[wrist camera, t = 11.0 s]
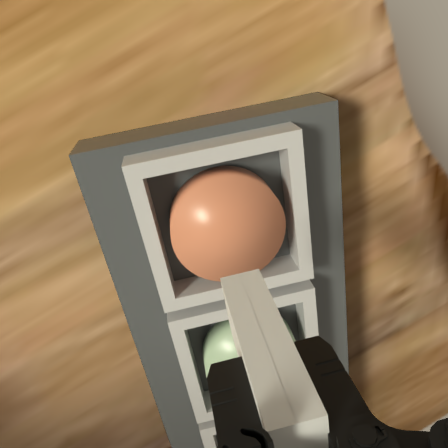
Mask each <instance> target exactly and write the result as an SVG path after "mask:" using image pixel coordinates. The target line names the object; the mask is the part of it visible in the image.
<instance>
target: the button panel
mask: <svg viewBox="0 0 448 448" xmlns="http://www.w3.org/2000/svg"><path fill="white" fill-rule="evenodd" d="M69 157H70V160H71V163H72V166H73V169H74V172H75V175H76V177H77V180H78V183H79V186H80V189H81V192H82V194H83V197H84V200H85V203H86V206H87V209H88V211H89V214H90V217H91V220H92V223H93V226H94V228H95V231H96V234H97V237H98V240H99V243H100V245H101V248H102V251H103V254H104V257H105V260H106V262H107V265H108V268H109V271H110V274H111V277H112V280H113V282H114V285H115V288H116V291H117V294H118V297H119V299H120V302H121V305H122V308H123V311H124V314H125V316H126V319H127V322H128V325H129V328H130V331H131V333H132V336H133V339H134V342H135V345H136V348H137V350H138V353H139V356H140V359H141V362H142V365H143V367H144V370H145V373H146V376H147V379H148V382H149V385H150V387H151V390H152V393H153V396H154V399H155V402H156V404H157V407H158V410H159V413H160V416H161V419H162V421H163V424H164V427H165V430H166V433H167V436H168V438H169V441H170V444H171V447H172V448H217V445H218V440H217V434H216V429H215V423H214V417H213V411H212V405H211V400H210V394H209V388H208V383H207V378H206V372H205V365H204V359H203V352H202V351H203V342H204V339H205V337H206V335H207V333H208V331H209V330H210V329H211V328H212V326H213V325H214V324H215V323H217V322H221V321H225V320H229V319H228V314H227V309H226V304H225V299H224V294H223V290H222V285H221V282H219V281H212V280H207V279H204V278H201V277H199V276H197V275H195V274H194V273H192V272H190V271H189V270H188V269H187V268H185V267H184V265H183V264H182V263H181V262H180V261H179V259H178V258H177V256H176V254H175V252H174V250H173V247H172V243H171V236H170V223H169V215H170V208H171V205H172V202H173V199H174V197H175V195H176V194H177V192H178V190H179V189H180V188H181V186H182V185H183V184H184V183H185V182H186V181H187V180H188V179H190V178H191V177H192V176H194V175H196V174H197V173H199V172H201V171H203V170H206V169H209V168H212V167H217V166H237V167H241V168H244V169H247V170H249V171H251V172H253V173H255V174H257V175H258V176H259V177H261V178H262V179H263V180H264V181H265V182H266V183H267V185H268V186H269V188H270V189H271V190H272V192H273V193H274V194H275V196H276V197H277V199H278V200H279V202H280V203H281V205H282V208H283V211H284V214H285V219H286V230H285V236H284V240H283V243H282V245H281V247H280V249H279V251H278V253H277V254H276V256H275V257H274V258H273V259H272V260H271V262H270V263H269V264H268V265H266V266H265V267H264V268H263V269H261V270H260V272H261V274H262V277H263V279H264V281H265V283H266V285H267V287H268V289H269V291H270V294H271V296H272V298H273V300H274V302H275V304H276V306H277V308H278V310H279V313H280V315H281V317H282V318H283V319H284V320H285V321H286V322H287V324H288V325H289V327H290V329H291V332H292V334H293V336H294V338H295V340H296V341H299V340H302V339H306V338H310V337H314V336H320V337H321V338H322V339H324V340H325V341H326V342H328V343H329V344H330V345H331V346H332V347H333V349H334V351H335V353H336V354H337V356H338V358H339V360H340V361H341V363H342V364H343V366H344V368H345V371H347V373H348V375H349V368H348V342H347V317H346V291H345V266H344V240H343V214H342V189H341V163H340V138H339V112H338V100H337V99H334V98H331V97H329V96H326V95H324V94H321V93H319V92H315V93H310V94H305V95H300V96H296V97H291V98H286V99H281V100H276V101H271V102H266V103H261V104H256V105H251V106H246V107H241V108H237V109H232V110H227V111H222V112H217V113H212V114H207V115H202V116H197V117H192V118H187V119H182V120H178V121H173V122H168V123H163V124H158V125H153V126H148V127H143V128H138V129H133V130H128V131H124V132H119V133H114V134H109V135H104V136H99V137H94V138H89V139H84V140H79V141H78V142H77V144H76V145H75V147H74V148H73V150H72V151H71V153H70V154H69Z"/></svg>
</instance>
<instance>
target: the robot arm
mask: <svg viewBox="0 0 448 448" xmlns="http://www.w3.org/2000/svg"><path fill="white" fill-rule="evenodd" d="M220 280H221V285H222V290H223V294H224V299H225V304H226V309H227V314H228V319H229V323H230V328H231V333H232V337H233V340H234V344H235V347H236V351H237V354H238V357H236V358H233V359H229V360H225V361H221V362H217V363H213V364H211V366H210V369H209V372H208V376H207V383H208V388H209V394H210V400H211V405H212V411H213V417H214V423H215V429H216V434H217V440H218V445H217V448H448V418H446V419H442V420H439V421H437V422H436V423H435V424H434V425H433V426H432V427H431V429H430V432H426V431H406V430H399V429H395V428H392V427H389V426H387V425H385V424H384V423H382V422H380V421H379V420H378V419H377V418H376V417H375V416H374V415H373V414H372V413H371V412H370V410H369V409H368V407H367V405H366V404H365V402H364V400H363V398H362V397H361V395H360V393H359V392H358V390H357V388H356V387H355V385H354V383H353V381H352V380H351V378H350V376H349V375H348V373H347V371H345V368H344V366H343V364H342V363H341V361H340V360H339V358H338V356H337V354H336V353H335V351H334V349H333V347H332V346H331V345H330V344H329V343H328V342H326V341H325V340H324V339H322V338H321V337H320V336H314V337H310V338H306V339H302V340H299V341H295V342H293V340H292V338H291V336H290V334H289V332H288V329H287V327H286V325H285V323H284V321H283V319H282V317H281V315H280V313H279V310H278V308H277V306H276V304H275V302H274V300H273V298H272V296H271V294H270V291H269V289H268V287H267V285H266V283H265V281H264V279H263V277H262V274H261V272H260V270H259V269H255V270H251V271H247V272H243V273H239V274H235V275H230V276H226V277H222V278H220Z"/></svg>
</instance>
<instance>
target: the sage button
mask: <svg viewBox="0 0 448 448" xmlns="http://www.w3.org/2000/svg"><path fill="white" fill-rule="evenodd" d="M282 319H283V318H282ZM283 321H284V323H285V325H286V327H287V329H288V332H289V334H290V336H291V338H292V340H293V342H295V341H296V340H295V338H294V336H293V334H292V332H291V329H290V327H289V325H288V324H287V322H286V321H285V320H284V319H283ZM202 352H203V359H204V365H205V372H206V378H207V376H208V372H209V369H210V366H211V364H213V363H217V362H221V361H225V360H229V359H233V358H236V357H238V354H237V351H236V347H235V344H234V340H233V337H232V333H231V328H230V323H229V320H225V321H221V322H217V323H215V324H214V325H213V326H212V328H211V329H210V330H209V331H208V333H207V335H206V337H205V339H204V342H203V351H202Z"/></svg>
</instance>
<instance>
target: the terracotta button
mask: <svg viewBox="0 0 448 448" xmlns="http://www.w3.org/2000/svg"><path fill="white" fill-rule="evenodd" d="M169 223H170V236H171V243H172V247H173V250H174V252H175V254H176V256H177V258H178V259H179V261H180V262H181V263H182V264H183V265H184V267H185V268H187V269H188V270H189V271H190V272H192V273H194V274H195V275H197V276H199V277H201V278H204V279H207V280H212V281H219V282H221V280H220V278H222V277H226V276H230V275H235V274H239V273H243V272H247V271H251V270H255V269H259V270H261V269H263V268H264V267H265V266H266V265H268V264H269V263H270V262H271V260H272V259H273V258H274V257H275V256H276V254H277V253H278V251H279V249H280V247H281V245H282V243H283V240H284V236H285V230H286V219H285V214H284V211H283V208H282V205H281V203H280V202H279V200H278V199H277V197H276V196H275V194H274V193H273V192H272V190H271V189H270V188H269V186H268V185H267V183H266V182H265V181H264V180H263V179H262V178H261V177H259V176H258V175H257V174H255V173H253V172H251V171H249V170H247V169H244V168H241V167H237V166H217V167H212V168H209V169H206V170H203V171H201V172H199V173H197V174H196V175H194V176H192V177H191V178H190V179H188V180H187V181H186V182H185V183H184V184H183V185H182V186H181V188H180V189H179V190H178V192H177V194H176V195H175V197H174V199H173V202H172V205H171V208H170V215H169Z"/></svg>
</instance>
